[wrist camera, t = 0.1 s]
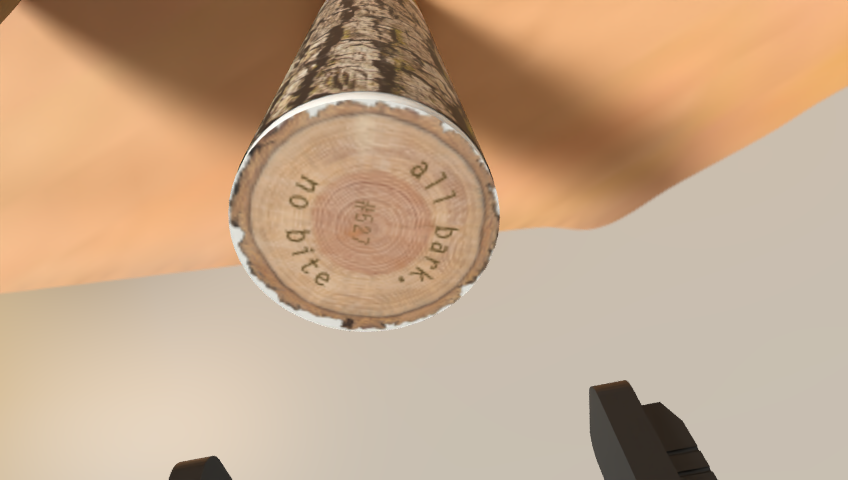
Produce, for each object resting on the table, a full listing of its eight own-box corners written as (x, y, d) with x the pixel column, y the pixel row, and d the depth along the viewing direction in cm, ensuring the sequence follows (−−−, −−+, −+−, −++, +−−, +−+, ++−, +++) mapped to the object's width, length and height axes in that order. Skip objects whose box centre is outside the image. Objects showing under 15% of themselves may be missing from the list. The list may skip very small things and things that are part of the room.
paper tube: (433, -15, 33) (535, 125, 12) (413, 91, 37) (465, 342, 16) (324, -38, 32) (228, 71, 11) (313, 73, 36) (225, 319, 15)
